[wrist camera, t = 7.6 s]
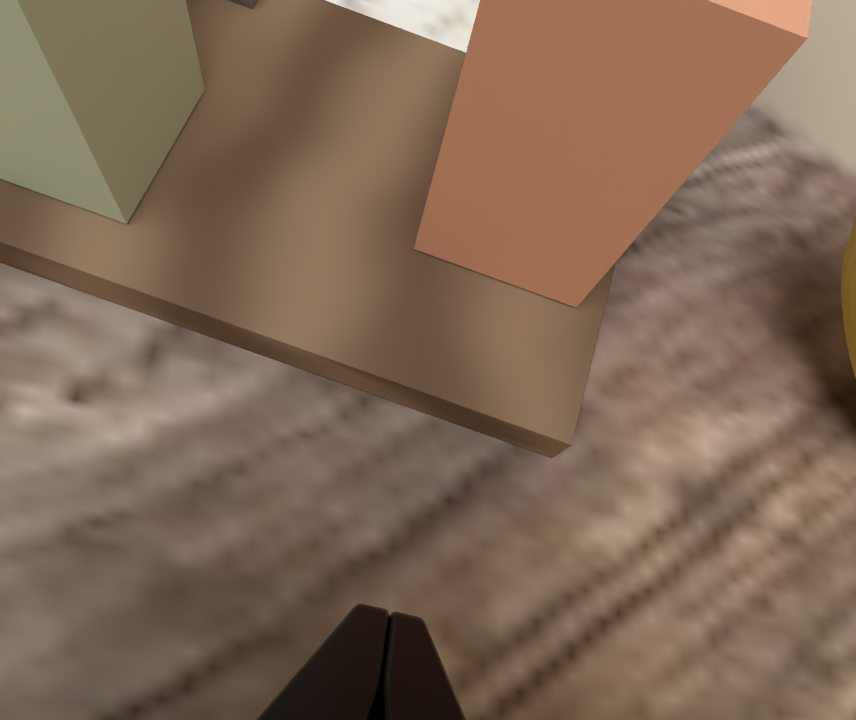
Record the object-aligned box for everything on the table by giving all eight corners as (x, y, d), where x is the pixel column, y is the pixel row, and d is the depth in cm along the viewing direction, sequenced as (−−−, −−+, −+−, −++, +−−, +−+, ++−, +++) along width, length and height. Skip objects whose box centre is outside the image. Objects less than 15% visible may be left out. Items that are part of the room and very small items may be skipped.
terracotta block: (576, 307, 24) (807, 38, 13) (413, 248, 23) (501, -78, 12) (610, 173, 26) (833, -157, 15) (462, 119, 26) (574, -257, 15)
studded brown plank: (628, 152, 29) (667, 94, 26) (551, 457, 24) (588, 433, 21) (-236, -168, 28) (-309, -271, 25) (-516, 79, 23) (-655, -10, 19)
